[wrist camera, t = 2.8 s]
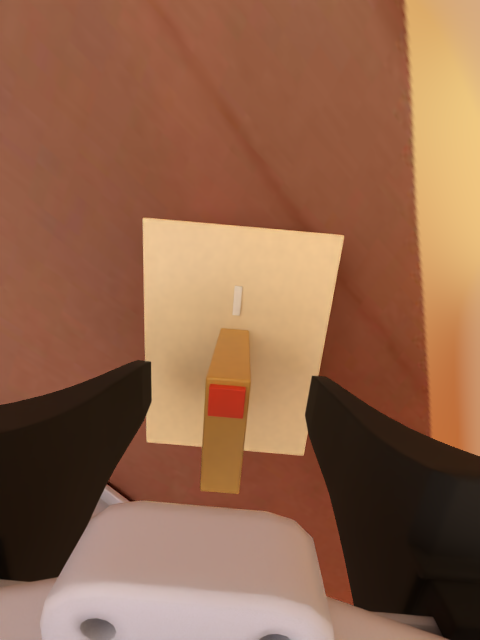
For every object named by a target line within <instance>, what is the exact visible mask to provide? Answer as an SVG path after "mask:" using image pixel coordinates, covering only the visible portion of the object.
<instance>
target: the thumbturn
mask: <svg viewBox="0 0 480 640" xmlns="http://www.w3.org/2000/svg"><path fill="white" fill-rule="evenodd" d="M250 387H251V368H250V341H249V331H248V330H238V329H226V328H221V330H220V333H219V336H218V340H217V343H216V346H215V349H214V353H213V356H212V359H211V363H210V366H209V369H208V373H207V376H206V383H205V402H204V420H203V439H202V458H201V476H200V490H201V491H208V492H219V493H231V494H238V493H239V489H240V480H241V471H242V462H243V452H244V443H245V434H246V424H247V415H248V406H249V397H250Z"/></svg>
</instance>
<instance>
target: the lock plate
mask: <svg viewBox="0 0 480 640" xmlns="http://www.w3.org/2000/svg"><path fill="white" fill-rule="evenodd" d="M343 241H344V235H338V234H327V233H315V232H304V231H292V230H281V229H270V228H258V227H247V226H236V225H224V224H213V223H202V222H190V221H179V220H168V219H156V218H145V217H144V218H143V273H144V330H145V361H151V386H152V402H151V404H150V407H149V409H148V412H147V414H146V441H147V442H150V443H162V444H174V445H185V446H197V447H202V439H203V420H204V402H205V383H206V376H207V373H208V369H209V366H210V363H211V359H212V356H213V353H214V349H215V346H216V343H217V340H218V336H219V333H220V330H221V328H226V329H238V330H248V331H249V341H250V368H251V387H250V397H249V406H248V415H247V424H246V434H245V443H244V451H255V452H266V453H278V454H289V455H301V456H303V455H304V451H305V445H306V440H307V434H308V429H307V424H306V419H305V411H306V406H307V400H308V394H309V389H310V383H311V378H312V376H318V375H319V370H320V365H321V359H322V354H323V348H324V343H325V338H326V332H327V327H328V322H329V316H330V311H331V305H332V300H333V295H334V289H335V284H336V279H337V273H338V268H339V262H340V257H341V252H342V246H343Z"/></svg>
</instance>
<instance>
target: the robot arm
mask: <svg viewBox="0 0 480 640" xmlns="http://www.w3.org/2000/svg"><path fill="white" fill-rule="evenodd" d="M151 402H152V386H151V361H140V360H137V361H134V362H131V363H128V364H126V365H123V366H121V367H119V368H116V369H114V370H112V371H110V372H107V373H105V374H103V375H100V376H98V377H95V378H93V379H90V380H88V381H85V382H83V383H80V384H77V385H75V386H72V387H69V388H66V389H63V390H60V391H56V392H53V393H50V394H46V395H43V396H39V397H34V398H30V399H26V400H22V401H18V402H14V403H9V404H4V405H0V640H480V456H476V455H474V454H471V453H468V452H466V451H463V450H460V449H457V448H455V447H452V446H450V445H447V444H445V443H442V442H440V441H437V440H435V439H433V438H430V437H428V436H426V435H423V434H421V433H419V432H417V431H415V430H412V429H410V428H408V427H406V426H404V425H402V424H401V423H399V422H397V421H395V420H393V419H391V418H389V417H387V416H386V415H384V414H382V413H380V412H379V411H377V410H376V409H374V408H372V407H371V406H369V405H367V404H366V403H364V402H363V401H361V400H360V399H358V398H357V397H355V396H354V395H352V394H351V393H350V392H348V391H347V390H345V389H344V388H342V387H341V386H340V385H338V384H337V383H335V382H334V381H332V380H331V379H329V378H327V377H322V376H312V378H311V383H310V389H309V394H308V400H307V406H306V411H305V419H306V424H307V429H308V433H309V437H310V440H311V443H312V446H313V449H314V452H315V454H316V457H317V460H318V463H319V465H320V468H321V471H322V474H323V477H324V479H325V482H326V485H327V488H328V492H329V495H330V499H331V503H332V507H333V511H334V515H335V519H336V523H337V527H338V531H339V536H340V540H341V545H342V549H343V553H344V558H345V563H346V568H347V573H348V578H349V583H350V587H351V592H352V597H353V603H354V606H353V605H350V604H347V603H344V602H342V601H339V600H336V599H333V598H330V597H327V596H326V594H325V589H324V585H323V580H322V576H321V572H320V567H319V563H318V559H317V554H316V550H315V545H314V541H313V538H312V537H311V536H310V535H309V534H308V533H307V532H306V531H305V530H304V529H303V528H302V527H301V526H300V525H299V524H298V523H297V522H296V521H294V520H292V519H291V518H287V517H284V516H280V515H277V514H274V513H270V512H267V511H258V510H247V509H235V508H224V507H212V506H201V505H189V504H178V503H166V502H155V501H143V500H141V501H133V502H130V501H128V500H127V499H126V498H125V497H123V496H122V495H121V494H119V493H118V492H117V491H115V490H114V489H113V488H111V487H110V486H109V485H107V482H108V480H109V478H110V476H111V475H112V473H113V471H114V469H115V467H116V466H117V464H118V462H119V461H120V459H121V457H122V456H123V454H124V452H125V451H126V449H127V447H128V446H129V444H130V443H131V441H132V439H133V438H134V436H135V434H136V433H137V431H138V429H139V428H140V426H141V424H142V423H143V421H144V419H145V416H146V414H147V412H148V409H149V407H150V404H151Z"/></svg>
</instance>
